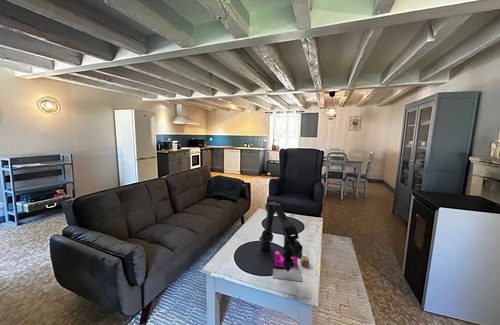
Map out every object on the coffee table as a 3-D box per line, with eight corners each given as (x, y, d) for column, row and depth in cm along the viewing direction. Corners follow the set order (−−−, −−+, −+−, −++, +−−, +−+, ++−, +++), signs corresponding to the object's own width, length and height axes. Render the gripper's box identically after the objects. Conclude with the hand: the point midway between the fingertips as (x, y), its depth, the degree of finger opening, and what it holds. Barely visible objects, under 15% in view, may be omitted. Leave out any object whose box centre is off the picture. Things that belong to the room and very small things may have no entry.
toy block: (274, 266, 138) (275, 256, 137) (274, 261, 144) (275, 251, 143) (297, 268, 136) (298, 258, 135) (296, 263, 142) (297, 253, 142)
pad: (272, 278, 126) (272, 277, 126) (273, 269, 135) (273, 268, 135) (302, 281, 124) (302, 281, 124) (301, 272, 133) (301, 271, 133)
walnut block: (301, 265, 140) (301, 259, 140) (300, 261, 145) (300, 255, 145) (308, 266, 139) (309, 260, 139) (307, 261, 144) (308, 256, 144)
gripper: (303, 254, 117) (302, 280, 119) (300, 238, 135) (299, 261, 137) (284, 252, 118) (282, 277, 120) (283, 237, 137) (282, 259, 139)
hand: (287, 268), depth 129 cm, fingers open, 5 cm apart
